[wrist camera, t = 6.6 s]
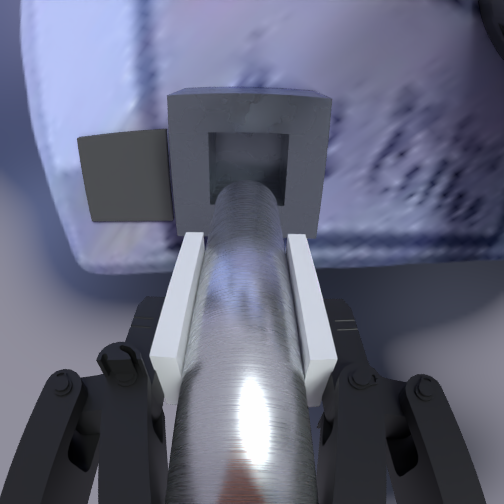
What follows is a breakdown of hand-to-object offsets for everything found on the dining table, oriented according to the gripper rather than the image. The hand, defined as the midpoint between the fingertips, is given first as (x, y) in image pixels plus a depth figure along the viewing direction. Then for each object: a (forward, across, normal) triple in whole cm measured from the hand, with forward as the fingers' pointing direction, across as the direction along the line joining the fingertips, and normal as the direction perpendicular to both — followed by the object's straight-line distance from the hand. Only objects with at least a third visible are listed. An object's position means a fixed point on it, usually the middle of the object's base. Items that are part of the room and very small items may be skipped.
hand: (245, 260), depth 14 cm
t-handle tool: (+5, 0, 0) cm, 5 cm away
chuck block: (+19, 0, 0) cm, 19 cm away
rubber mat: (+19, +13, +3) cm, 23 cm away
